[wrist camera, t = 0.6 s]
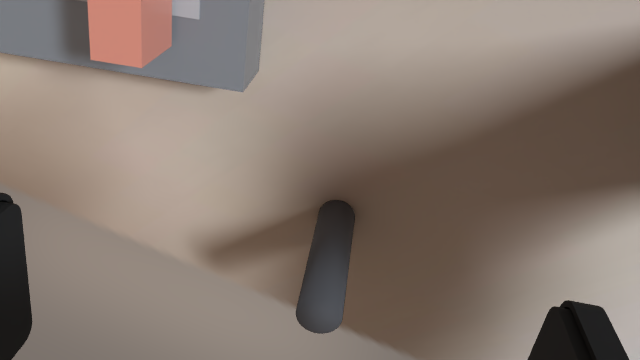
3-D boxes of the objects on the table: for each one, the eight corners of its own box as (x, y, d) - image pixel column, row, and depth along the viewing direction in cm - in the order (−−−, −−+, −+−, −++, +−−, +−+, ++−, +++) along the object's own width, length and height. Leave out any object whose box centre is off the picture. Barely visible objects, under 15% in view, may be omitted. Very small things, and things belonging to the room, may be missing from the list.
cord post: (357, 203, 38) (345, 300, 29) (351, 234, 39) (338, 336, 30) (321, 197, 38) (298, 292, 29) (316, 228, 39) (293, 328, 31)
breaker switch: (172, -36, 28) (140, -24, 25) (171, 46, 30) (141, 67, 27) (124, -43, 28) (85, -32, 25) (126, 38, 30) (90, 59, 27)
